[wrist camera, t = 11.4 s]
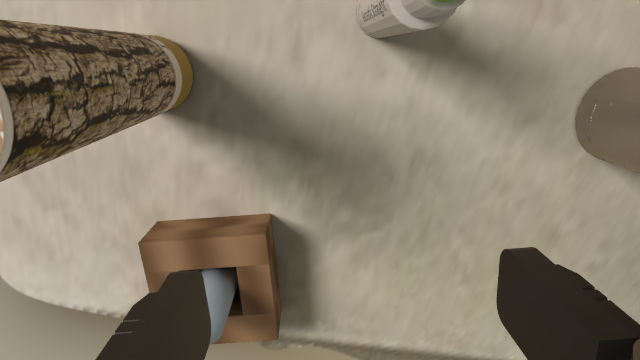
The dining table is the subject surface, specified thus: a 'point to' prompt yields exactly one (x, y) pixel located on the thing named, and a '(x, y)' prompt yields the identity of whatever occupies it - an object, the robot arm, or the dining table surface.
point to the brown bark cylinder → (79, 88)
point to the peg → (219, 296)
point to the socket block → (217, 252)
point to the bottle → (402, 15)
